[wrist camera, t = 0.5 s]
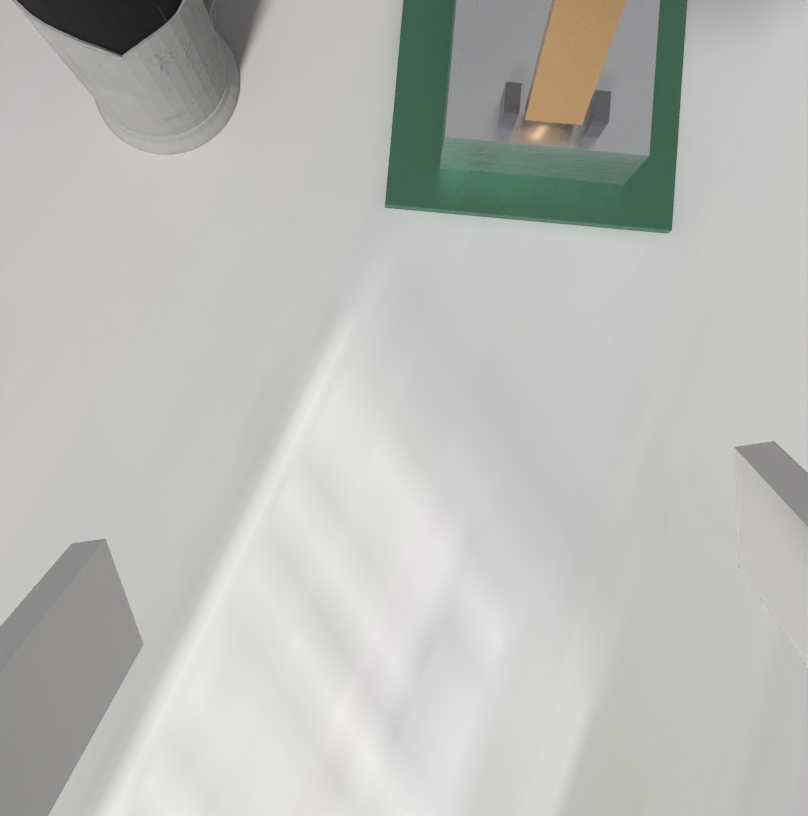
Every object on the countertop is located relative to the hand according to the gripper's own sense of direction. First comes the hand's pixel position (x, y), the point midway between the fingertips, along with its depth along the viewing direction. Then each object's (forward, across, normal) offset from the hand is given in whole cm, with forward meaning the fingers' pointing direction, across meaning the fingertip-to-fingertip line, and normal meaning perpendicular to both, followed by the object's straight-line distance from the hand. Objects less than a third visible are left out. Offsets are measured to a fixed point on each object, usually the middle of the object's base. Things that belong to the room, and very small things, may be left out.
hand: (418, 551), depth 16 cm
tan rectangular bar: (+25, +9, +12) cm, 29 cm away
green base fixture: (+38, +9, +11) cm, 40 cm away
